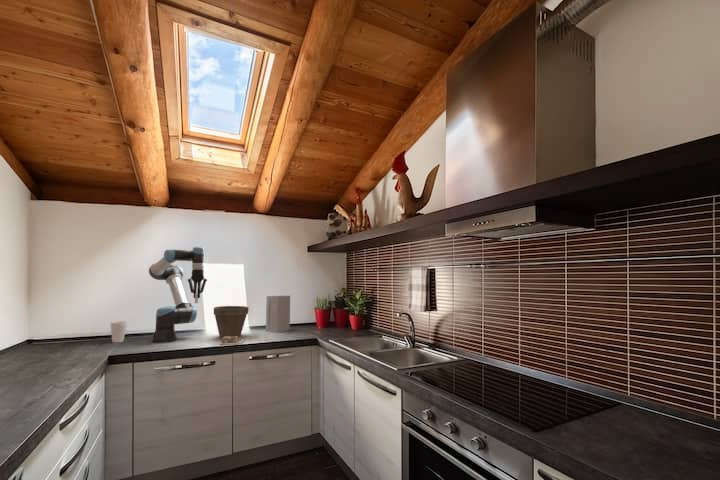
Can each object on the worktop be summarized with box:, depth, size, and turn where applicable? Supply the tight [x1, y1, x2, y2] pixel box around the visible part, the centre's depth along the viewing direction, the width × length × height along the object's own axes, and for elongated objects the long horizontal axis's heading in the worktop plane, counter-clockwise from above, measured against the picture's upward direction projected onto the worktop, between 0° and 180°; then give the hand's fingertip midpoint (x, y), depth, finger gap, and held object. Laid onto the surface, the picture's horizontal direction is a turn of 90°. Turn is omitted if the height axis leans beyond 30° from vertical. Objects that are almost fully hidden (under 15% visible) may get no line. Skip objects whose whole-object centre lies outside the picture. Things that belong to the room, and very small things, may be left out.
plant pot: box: [213, 305, 249, 339], centre depth 274 cm, size 25×25×22 cm
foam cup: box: [110, 320, 128, 343], centre depth 254 cm, size 10×9×13 cm
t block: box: [221, 336, 239, 343], centre depth 248 cm, size 9×8×4 cm
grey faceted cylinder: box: [265, 295, 291, 334], centre depth 299 cm, size 19×15×28 cm
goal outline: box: [219, 339, 246, 346], centre depth 248 cm, size 14×13×1 cm
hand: (196, 302), depth 256 cm, fingers closed
